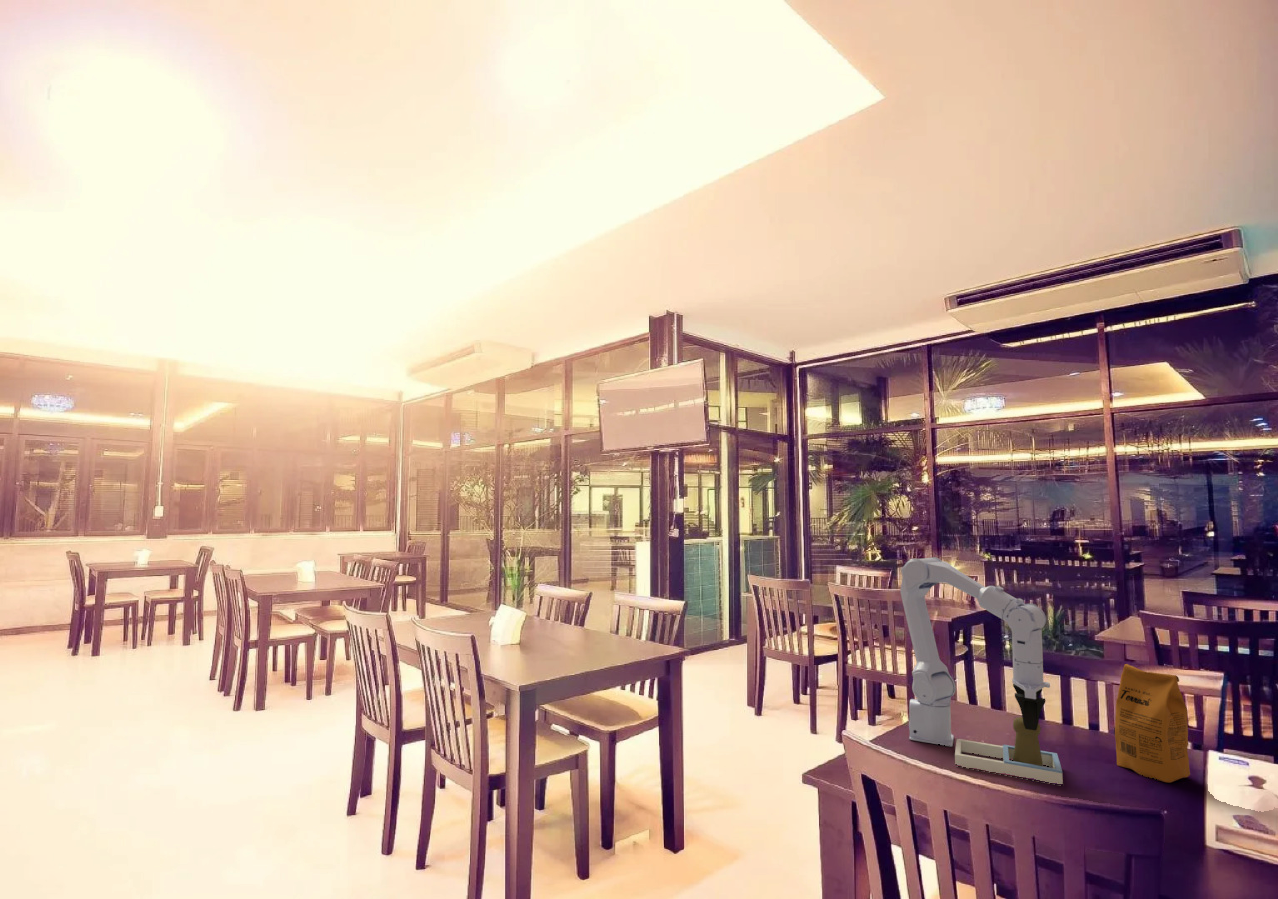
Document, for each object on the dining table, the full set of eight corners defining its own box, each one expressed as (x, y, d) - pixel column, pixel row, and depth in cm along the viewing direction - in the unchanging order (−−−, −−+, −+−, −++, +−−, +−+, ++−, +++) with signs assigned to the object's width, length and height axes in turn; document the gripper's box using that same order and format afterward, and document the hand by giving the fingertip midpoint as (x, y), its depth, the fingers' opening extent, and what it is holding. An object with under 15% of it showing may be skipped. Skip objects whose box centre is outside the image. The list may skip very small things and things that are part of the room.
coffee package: (1138, 758, 148) (1133, 660, 150) (1199, 780, 136) (1193, 674, 138) (1106, 763, 145) (1102, 663, 147) (1166, 786, 133) (1160, 677, 135)
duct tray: (955, 766, 142) (954, 752, 143) (957, 749, 152) (956, 736, 152) (1062, 785, 133) (1062, 771, 133) (1057, 766, 143) (1056, 753, 143)
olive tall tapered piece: (1049, 777, 137) (1047, 724, 138) (1018, 774, 138) (1016, 722, 139) (1037, 766, 143) (1036, 715, 144) (1008, 763, 144) (1006, 713, 145)
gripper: (1052, 670, 134) (1054, 737, 133) (1046, 656, 147) (1048, 717, 146) (1012, 666, 137) (1014, 731, 136) (1010, 652, 150) (1012, 712, 149)
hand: (1029, 724), depth 141 cm, fingers open, 7 cm apart
